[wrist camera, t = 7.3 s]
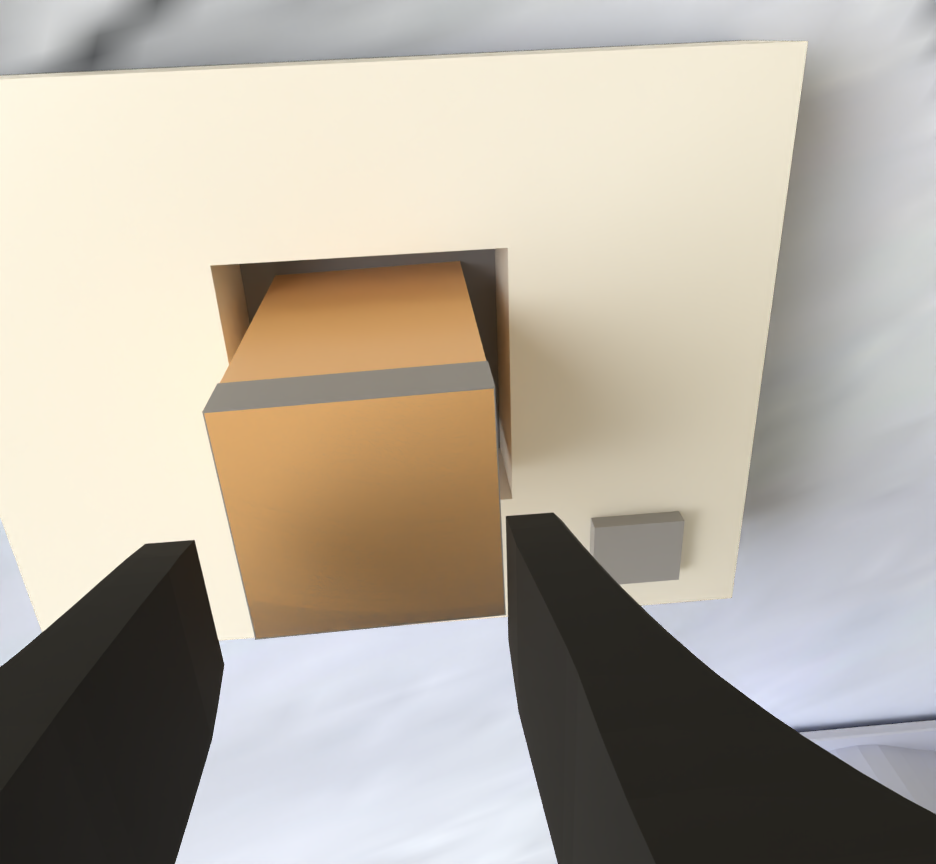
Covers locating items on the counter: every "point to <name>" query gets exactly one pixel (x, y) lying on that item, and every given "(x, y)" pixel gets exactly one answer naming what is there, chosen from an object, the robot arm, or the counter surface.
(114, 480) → the socket
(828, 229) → the counter surface
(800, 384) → the counter surface
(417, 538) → the plug
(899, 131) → the counter surface
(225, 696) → the counter surface
